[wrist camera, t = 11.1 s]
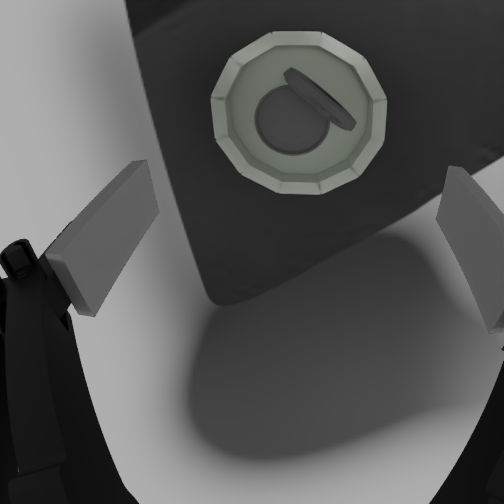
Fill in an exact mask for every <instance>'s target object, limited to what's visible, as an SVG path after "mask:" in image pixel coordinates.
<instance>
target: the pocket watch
mask: <svg viewBox="0 0 504 504" xmlns="http://www.w3.org/2000/svg"><path fill="white" fill-rule="evenodd" d="M283 75H284V78H285V81H286V82H287V83H288V85H283V86H279V87H277V88H275V89H272V90H270V91H269V92H268V93H267V94H266V95H264V96H263V97H262V98H261V100H260V101H259V103H258V106H257V108H256V110H255V115H254V123H255V128H256V131H257V134H258V136H259V137H260V139H261V140H262V142H263V143H264V144H265V145H266V146H267V147H269V148H270V149H271V150H273V151H275V152H277V153H280V154H283V155H288V156H299V155H304V154H307V153H310V152H312V151H313V150H315V149H316V148H318V147H319V146H320V145H321V144H322V143H323V141H324V140H325V138H326V137H327V135H328V132H329V128H330V121H331V122H332V123H333V124H335V125H336V126H338V127H339V128H341V129H343V130H346V131H347V130H348V131H352V130H353V129H354V128H355V125H356V124H357V122H356V121H355V119H354V118H353V117H352V115H351V114H350V113H349V112H348V111H347V110H346V109H345V108H344V107H343V106H342V105H341V104H340V103H339V102H338V101H337V100H336V99H334V98H333V97H332V96H331V95H330V94H329V93H328V92H326V91H325V90H324V89H323V88H322V87H320V86H319V85H318V84H317V83H315V82H314V81H313V80H311V79H310V78H309V77H307V76H306V75H304V74H303V73H301V72H300V71H298V70H296V69H294V68H292V67H290V68H289V69H287V70H286V71H285V72H284V73H283Z"/></svg>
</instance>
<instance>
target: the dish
mask: <svg viewBox="0 0 504 504" xmlns="http://www.w3.org/2000/svg"><path fill="white" fill-rule="evenodd" d="M290 67H292V68H294V69H296V70H298V71H300V72H301V73H303V74H304V75H306V76H307V77H309V78H310V79H311V80H313V81H314V82H315V83H317V84H318V85H319V86H320V87H322V88H323V89H324V90H325V91H326V92H328V93H329V94H330V95H331V96H332V97H333V98H334V99H336V100H337V101H338V102H339V103H340V104H341V105H342V106H343V107H344V108H345V109H346V110H347V111H348V112H349V113H350V114H351V115H352V117H353V118H354V119H355V121H356V122H357V124H356V125H355V128H354V129H353V130H352V131H348V130H347V131H346V130H343V129H341V128H339V127H338V126H336V125H335V124H333V123H332V122H331V121H330V128H329V132H328V135H327V137H326V138H325V140H324V141H323V143H322V144H321V145H320V146H319V147H318V148H316V149H315V150H313V151H312V152H310V153H307V154H304V155H299V156H288V155H283V154H280V153H277V152H275V151H273V150H271V149H270V148H269V147H267V146H266V145H265V144H264V143H263V142H262V140H261V139H260V137H259V136H258V134H257V131H256V128H255V123H254V115H255V110H256V108H257V106H258V103H259V101H260V100H261V98H262V97H263V96H264V95H266V94H267V93H268V92H269V91H270V90H272V89H275V88H277V87H279V86H283V85H288V83H287V82H286V81H285V78H284V75H283V73H284V72H285V71H286V70H287V69H289V68H290ZM210 99H211V108H212V117H213V126H214V135H215V139H216V142H217V143H218V144H219V146H220V147H221V148H222V150H223V151H224V152H225V154H226V155H227V157H228V158H229V159H230V161H231V162H232V163H233V165H234V166H235V168H236V169H237V170H238V172H239V173H241V172H242V174H241V175H243V176H245V177H247V178H249V179H251V180H253V181H255V182H257V183H259V184H261V185H263V186H265V187H267V188H269V189H271V190H273V191H275V192H276V193H278V192H279V194H318V195H320V192H321V193H322V194H324V193H326V192H328V191H330V190H332V189H334V188H336V187H339V186H341V185H343V184H345V183H347V182H349V181H351V180H354V179H356V178H358V175H359V176H360V175H361V174H362V173H363V171H364V170H365V168H366V167H367V166H368V164H369V163H370V162H371V160H372V159H373V157H374V156H375V155H376V153H377V152H378V150H379V149H380V148H381V146H382V145H383V142H384V138H385V126H386V112H387V100H386V96H385V94H384V92H383V90H382V88H381V86H380V84H379V82H378V80H377V78H376V76H375V74H374V73H373V71H372V69H371V67H370V65H369V64H368V62H367V60H366V58H364V57H363V56H362V55H360V54H359V53H357V52H356V51H354V50H352V49H351V48H349V47H347V46H346V45H344V44H342V43H341V42H339V41H337V40H336V39H334V38H332V37H330V36H328V35H327V34H325V33H321V32H311V31H279V32H272V33H271V32H270V33H268V34H266V35H265V36H263V37H261V38H259V39H258V40H256V41H254V42H253V43H251V44H249V45H248V46H246V47H244V48H243V49H241V50H240V51H238V52H237V53H235V54H233V55H232V56H231V57H230V58H229V60H228V62H227V64H226V66H225V68H224V70H223V72H222V74H221V76H220V78H219V80H218V82H217V84H216V86H215V88H214V90H213V92H212V94H211V98H210Z"/></svg>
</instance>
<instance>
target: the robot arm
mask: <svg viewBox="0 0 504 504" xmlns="http://www.w3.org/2000/svg"><path fill="white" fill-rule="evenodd" d="M158 213H159V209H158V205H157V201H156V197H155V193H154V189H153V184H152V180H151V176H150V171H149V167H148V163H147V160H140V161H132V162H131V163H130V164H129V165H128V166H127V167H126V168H125V169H123V170H122V171H121V172H120V173H119V174H118V175H117V176H116V177H115V178H114V179H113V180H112V181H111V182H110V183H109V184H108V185H107V186H106V187H105V188H104V189H103V190H102V191H101V192H100V193H99V194H98V195H97V196H96V197H95V198H94V199H93V200H92V201H91V202H90V203H89V204H88V205H87V206H86V207H85V208H84V209H83V210H82V211H81V213H80V214H79V215H78V216H77V217H76V218H75V219H74V220H73V221H71V222H70V223H69V224H68V225H67V226H66V227H65V229H64V230H63V231H62V232H61V233H60V234H59V235H58V236H57V239H55V240H54V241H53V242H52V243H51V244H50V246H49V247H48V248H47V249H46V250H45V251H44V253H43V254H42V255H41V256H40V258H39V259H37V257H36V255H35V253H34V251H33V249H32V247H31V245H30V243H29V241H28V240H27V239H20V240H17V241H15V242H13V243H11V244H10V245H8V247H6V248H5V249H4V250H3V251H2V252H1V254H0V264H1V266H2V267H3V269H4V271H5V272H6V274H7V276H8V278H4V279H1V277H0V504H139V503H138V502H137V500H136V499H135V498H134V497H133V496H132V494H131V493H130V492H129V491H128V490H127V489H126V487H125V486H124V484H123V482H122V480H121V478H120V476H119V473H118V471H117V469H116V466H115V464H114V462H113V459H112V457H111V454H110V452H109V449H108V447H107V444H106V441H105V439H104V436H103V433H102V430H101V428H100V425H99V422H98V419H97V416H96V413H95V410H94V407H93V403H92V400H91V397H90V394H89V390H88V387H87V383H86V380H85V376H84V372H83V368H82V365H81V361H80V357H79V352H78V348H77V344H76V339H75V335H74V329H73V325H72V320H71V316H70V314H69V312H68V311H67V309H68V307H69V306H70V304H71V303H72V304H73V306H74V308H75V309H76V311H77V313H78V314H79V315H85V316H91V317H95V316H96V314H97V312H98V310H99V309H100V307H101V305H102V303H103V302H104V299H105V298H106V296H107V295H108V293H109V291H110V289H111V288H112V286H113V284H114V283H115V281H116V279H117V278H118V276H119V274H120V273H121V271H122V269H123V268H124V266H125V265H126V263H127V261H128V260H129V258H130V257H131V255H132V253H133V251H134V250H135V248H136V247H137V245H138V244H139V242H140V241H141V239H142V238H143V236H144V234H145V233H146V231H147V230H148V228H149V227H150V225H151V224H152V222H153V221H154V219H155V218H156V216H157V215H158ZM436 221H437V222H438V224H439V226H440V228H441V230H442V231H443V233H444V235H445V237H446V239H447V241H448V243H449V245H450V247H451V249H452V250H453V252H454V254H455V256H456V258H457V260H458V262H459V265H460V266H461V268H462V271H463V273H464V275H465V277H466V279H467V282H468V284H469V286H470V288H471V291H472V293H473V295H474V297H475V300H476V302H477V304H478V307H479V309H480V312H481V314H482V317H483V319H484V322H485V325H486V327H487V330H488V333H489V334H492V333H502V332H504V214H503V213H502V212H501V211H500V209H499V208H498V207H497V206H496V204H495V203H494V202H493V201H492V200H491V199H490V197H489V196H488V195H487V194H486V193H485V191H484V190H483V189H482V188H481V187H480V186H479V185H478V184H477V183H476V181H475V180H474V179H473V178H472V177H471V176H470V175H469V174H468V173H467V172H466V171H465V169H464V168H462V167H455V166H448V171H447V176H446V180H445V185H444V189H443V193H442V198H441V202H440V205H439V209H438V214H437V217H436ZM502 350H503V351H504V346H503V348H502ZM429 504H504V361H503V364H502V367H501V370H500V372H499V375H498V378H497V380H496V383H495V386H494V388H493V390H492V393H491V395H490V397H489V400H488V402H487V404H486V407H485V409H484V411H483V413H482V415H481V417H480V419H479V421H478V423H477V425H476V428H475V429H474V431H473V433H472V435H471V437H470V439H469V441H468V443H467V445H466V446H465V448H464V450H463V452H462V454H461V455H460V457H459V459H458V461H457V462H456V464H455V466H454V467H453V469H452V470H451V472H450V474H449V475H448V477H447V478H446V480H445V482H444V483H443V485H442V486H441V487H440V489H439V490H438V492H437V493H436V495H435V496H434V498H433V499H432V501H431V502H430V503H429Z"/></svg>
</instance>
